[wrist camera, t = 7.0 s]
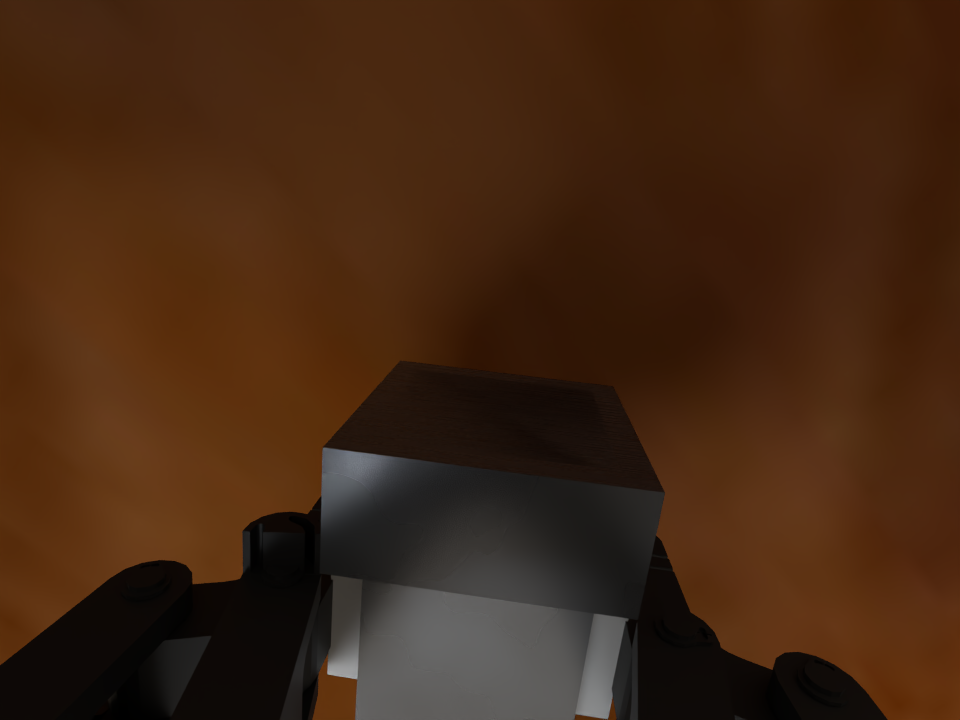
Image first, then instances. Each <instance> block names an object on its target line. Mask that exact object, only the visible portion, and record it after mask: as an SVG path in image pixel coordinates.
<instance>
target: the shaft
mask: <svg viewBox="0 0 960 720" xmlns="http://www.w3.org/2000/svg"><path fill="white" fill-rule="evenodd" d="M664 495H665V492H664V490H663V488H662V486H661V484H660V482H659V479H658V477H657V475H656V473H655V471H654V469H653V467H652V465H651V463H650V461H649V459H648V457H647V455H646V453H645V451H644V449H643V447H642V445H641V443H640V441H639V438H638V436H637V434H636V432H635V430H634V428H633V426H632V424H631V422H630V420H629V418H628V416H627V414H626V412H625V410H624V408H623V406H622V404H621V402H620V400H619V398H618V395H617V393H616V391H615V389H614V387H613V386H605V385H597V384H589V383H581V382H572V381H564V380H556V379H548V378H539V377H531V376H523V375H515V374H506V373H498V372H490V371H482V370H473V369H465V368H457V367H449V366H440V365H432V364H424V363H416V362H407V361H400V362H399V363H398V364H397V365H396V366H395V367H394V369H393V370H392V371H391V372H390V373H389V374H388V375H387V376H386V377H385V379H384V380H383V381H382V382H381V383H380V384H379V385H378V386H377V388H376V389H375V390H374V391H373V392H372V393H371V394H370V395H369V396H368V398H367V399H366V400H365V401H364V402H363V403H362V404H361V405H360V407H359V408H358V409H357V410H356V411H355V412H354V413H353V414H352V415H351V417H350V418H349V419H348V420H347V421H346V422H345V423H344V424H343V425H342V427H341V428H340V429H339V430H338V431H337V432H336V433H335V434H334V436H333V437H332V438H331V439H330V440H329V441H328V442H327V443H326V444H325V446H324V447H323V458H322V499H321V539H320V573H321V574H327V575H334V576H341V577H348V578H355V579H362V595H361V616H360V636H359V656H358V677H357V697H356V717H355V720H574V718H575V713H576V708H577V702H578V697H579V691H580V686H581V681H582V675H583V670H584V664H585V659H586V654H587V648H588V643H589V637H590V632H591V627H592V621H593V616H594V614H601V615H607V616H614V617H621V618H628V619H635V620H638V618H639V613H640V608H641V604H642V599H643V594H644V589H645V585H646V580H647V575H648V571H649V566H650V561H651V556H652V552H653V547H654V542H655V537H656V533H657V528H658V523H659V519H660V514H661V509H662V504H663V500H664Z"/></svg>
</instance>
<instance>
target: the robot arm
mask: <svg viewBox="0 0 960 720" xmlns="http://www.w3.org/2000/svg"><path fill="white" fill-rule="evenodd" d="M321 499H322V496H321V497H320V498H319V500H318V501H317V502H316V504H315V505H314V506H313V508H312V510H310V512H309V513H308V514H304V513H297V512H281V513H274V514H270V515H267V516H263V517H261V518H259V519H257V520H255V521H253V522H251V523H250V524H249V525H248V526H247V527H246V528H245V529H244V530H243V574H242V576H241V578H240V579H238V580H233V581H226V582H217V583H204V584H192V572H191V571H190V570H189V568H188V567H187V566H186V565H184V564H181V563H179V562H176V561H165V560H158V561H151V562H145V563H141V564H138V565H135V566H132V567H130V568H127V569H125V570H123V571H121V572H120V573H118V574H116V575H115V576H113V577H111V578H110V579H109V580H107V581H106V582H105V583H104V584H102V585H101V586H100V587H99V588H97V589H96V590H95V591H94V592H92V593H91V594H90V595H89V596H87V597H86V598H85V599H84V600H82V601H81V602H80V603H78V604H77V605H76V606H75V607H73V608H72V609H71V610H70V611H68V612H67V613H66V614H65V615H63V616H62V617H61V618H60V619H58V620H57V621H56V622H54V623H53V624H52V625H51V626H49V627H48V628H47V629H46V630H44V631H43V632H42V633H41V634H39V635H38V636H37V637H36V638H34V639H33V640H32V641H31V642H29V643H28V644H27V645H25V646H24V647H23V648H22V649H20V650H19V651H18V652H17V653H15V654H14V655H13V656H12V657H10V658H9V659H8V660H7V661H5V662H4V663H3V664H1V665H0V720H312V718H313V714H314V709H315V705H316V701H317V696H318V673H319V671H320V669H321V667H322V664H323V662H324V660H325V658H326V656H327V654H328V675H334V676H341V677H347V678H353V679H357V677H358V656H359V636H360V616H361V595H362V579H355V578H348V577H341V576H334V575H327V574H321V573H320V539H321ZM667 557H668V556H667V553H666V551H665V548H664V546H663V544H662V541H661V540H660V539H659V538H658V537H657V536H656V537H655V542H654V547H653V552H652V556H651V561H650V566H649V571H648V575H647V580H646V585H645V589H644V594H643V599H642V604H641V608H640V613H639V618H638V620H635V619H628V618H621V617H614V616H607V615H601V614H594V616H593V621H592V627H591V632H590V637H589V643H588V648H587V654H586V659H585V664H584V670H583V675H582V681H581V686H580V691H579V697H578V702H577V708H576V713H575V714H579V715H585V716H591V717H597V718H604V719H608V716H609V711H610V706H611V702H612V697H613V699H614V705H615V711H616V717H617V719H616V720H887V718H886V717H885V716H884V714H883V713H882V712H881V711H880V709H879V708H878V707H877V705H876V704H875V703H874V701H873V700H872V699H871V698H870V696H869V695H868V694H867V692H866V691H865V690H864V689H863V688H862V687H861V686H860V685H859V684H858V683H857V682H856V681H855V680H854V679H853V678H852V677H851V676H850V675H848V674H847V673H846V672H844V671H843V670H841V669H840V668H838V667H837V666H835V665H834V664H832V663H830V662H828V661H825V660H823V659H821V658H819V657H817V656H813V655H809V654H805V653H801V652H789V653H784V654H782V655H780V656H779V657H777V658H776V660H775V664H774V667H773V670H771V669H768V668H766V667H763V666H760V665H758V664H755V663H752V662H750V661H747V660H745V659H742V658H740V657H737V656H735V655H733V654H731V653H729V652H727V651H725V650H724V649H722V648H721V647H720V643H719V641H718V639H717V637H716V634H715V632H714V631H713V630H712V629H711V628H710V627H709V626H708V625H707V624H706V623H705V622H704V621H703V620H701V619H700V618H698V617H697V616H695V615H694V614H692V613H691V612H690V610H689V608H688V605H687V603H686V600H685V598H684V595H683V593H682V590H681V588H680V585H679V583H678V581H677V578H676V576H675V573H674V572H673V568H672V566H671V563H670V561H669V559H667Z"/></svg>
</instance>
